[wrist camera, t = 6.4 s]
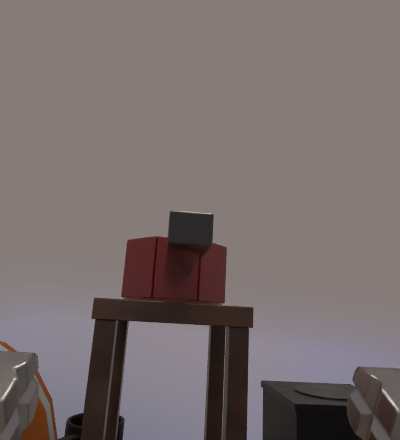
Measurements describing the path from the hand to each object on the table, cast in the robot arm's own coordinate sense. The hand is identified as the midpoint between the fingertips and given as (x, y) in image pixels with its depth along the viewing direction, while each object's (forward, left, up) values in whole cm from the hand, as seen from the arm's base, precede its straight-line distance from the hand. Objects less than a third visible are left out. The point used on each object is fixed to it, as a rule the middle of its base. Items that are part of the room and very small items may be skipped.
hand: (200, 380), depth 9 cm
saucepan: (0, -17, +2) cm, 17 cm away
